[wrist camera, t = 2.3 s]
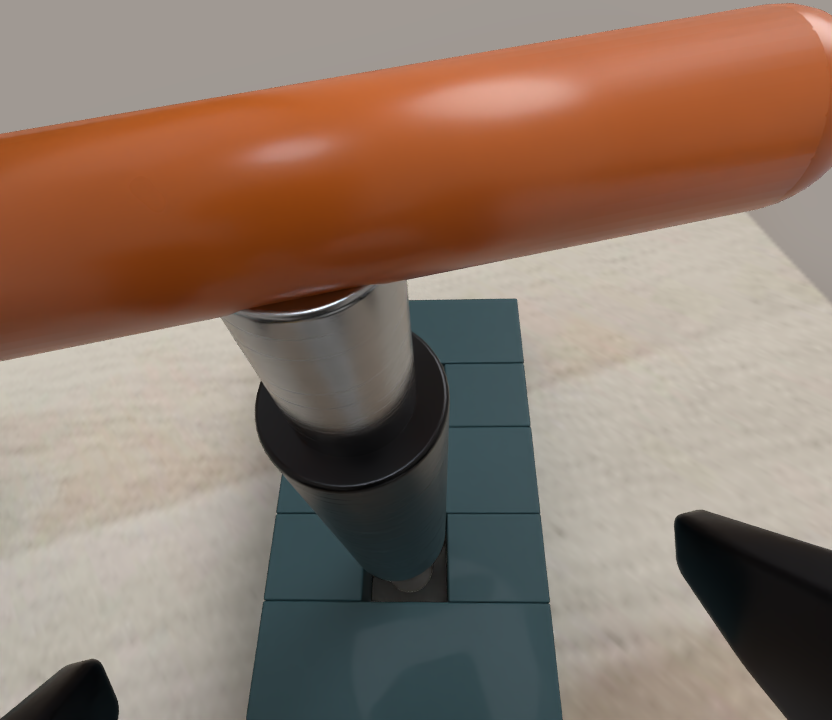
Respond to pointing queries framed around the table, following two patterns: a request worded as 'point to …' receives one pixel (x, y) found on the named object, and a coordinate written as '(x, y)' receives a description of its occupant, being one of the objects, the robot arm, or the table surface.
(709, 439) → the table surface
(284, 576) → the tool rack
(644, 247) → the table surface
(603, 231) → the t handle
